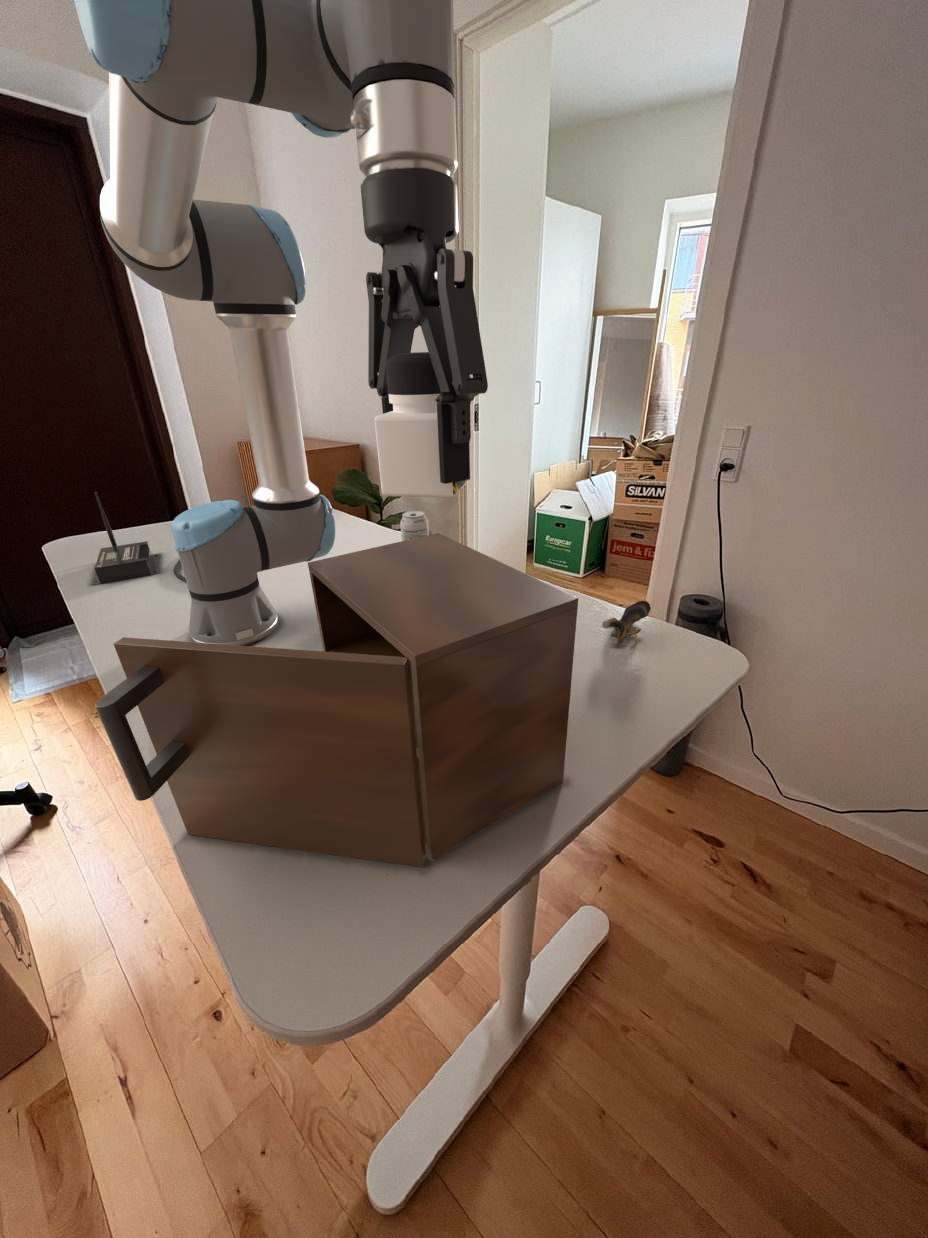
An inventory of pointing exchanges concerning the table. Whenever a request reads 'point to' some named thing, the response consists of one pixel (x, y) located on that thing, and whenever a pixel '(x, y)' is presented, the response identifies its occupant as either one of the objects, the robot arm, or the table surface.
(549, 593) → the cupboard
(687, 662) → the table surface
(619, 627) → the grey-brown animal figure
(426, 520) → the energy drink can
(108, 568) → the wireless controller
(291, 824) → the cupboard door
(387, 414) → the medicine bottle
